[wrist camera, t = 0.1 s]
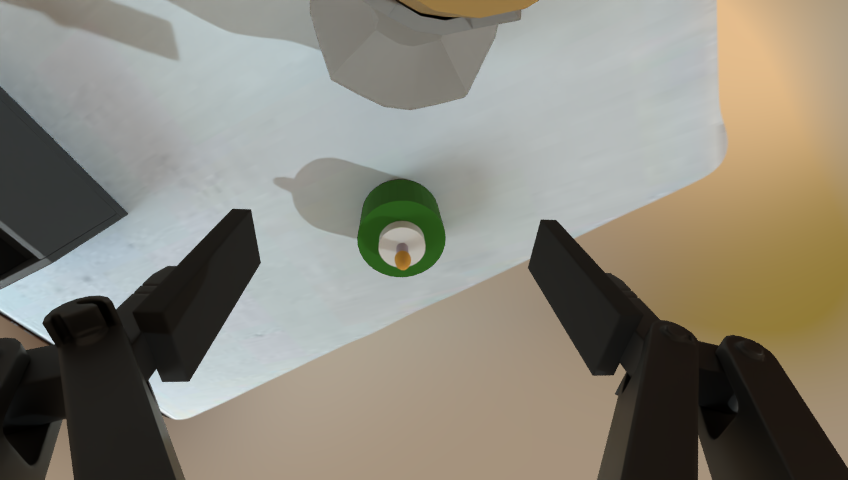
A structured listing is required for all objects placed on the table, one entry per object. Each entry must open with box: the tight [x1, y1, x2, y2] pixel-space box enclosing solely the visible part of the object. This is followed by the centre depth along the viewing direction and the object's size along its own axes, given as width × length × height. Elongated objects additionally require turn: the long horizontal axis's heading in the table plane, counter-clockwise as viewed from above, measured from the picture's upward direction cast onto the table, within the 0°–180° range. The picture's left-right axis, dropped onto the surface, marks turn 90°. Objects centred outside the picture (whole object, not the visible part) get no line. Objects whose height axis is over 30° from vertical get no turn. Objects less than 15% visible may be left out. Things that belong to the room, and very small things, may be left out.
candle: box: [357, 180, 446, 277], centre depth 33 cm, size 8×8×10 cm
